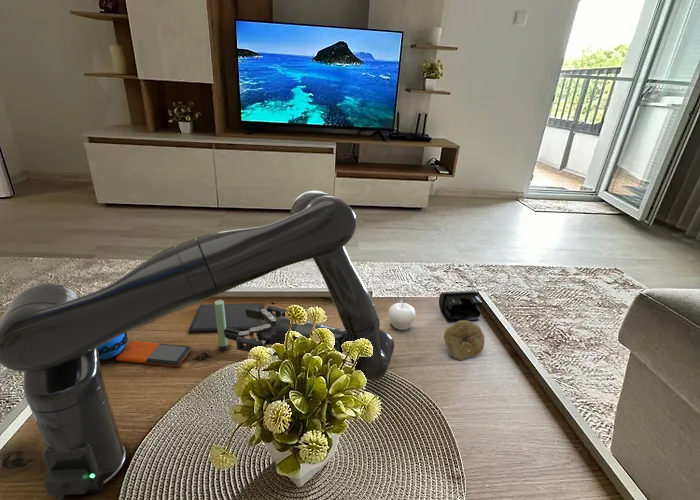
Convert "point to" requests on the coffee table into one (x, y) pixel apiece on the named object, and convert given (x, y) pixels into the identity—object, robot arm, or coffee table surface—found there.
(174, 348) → the phone
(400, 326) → the apple
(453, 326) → the fossil
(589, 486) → the coffee table surface
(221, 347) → the stylus
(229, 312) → the tablet
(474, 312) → the end cap
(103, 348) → the ornament
